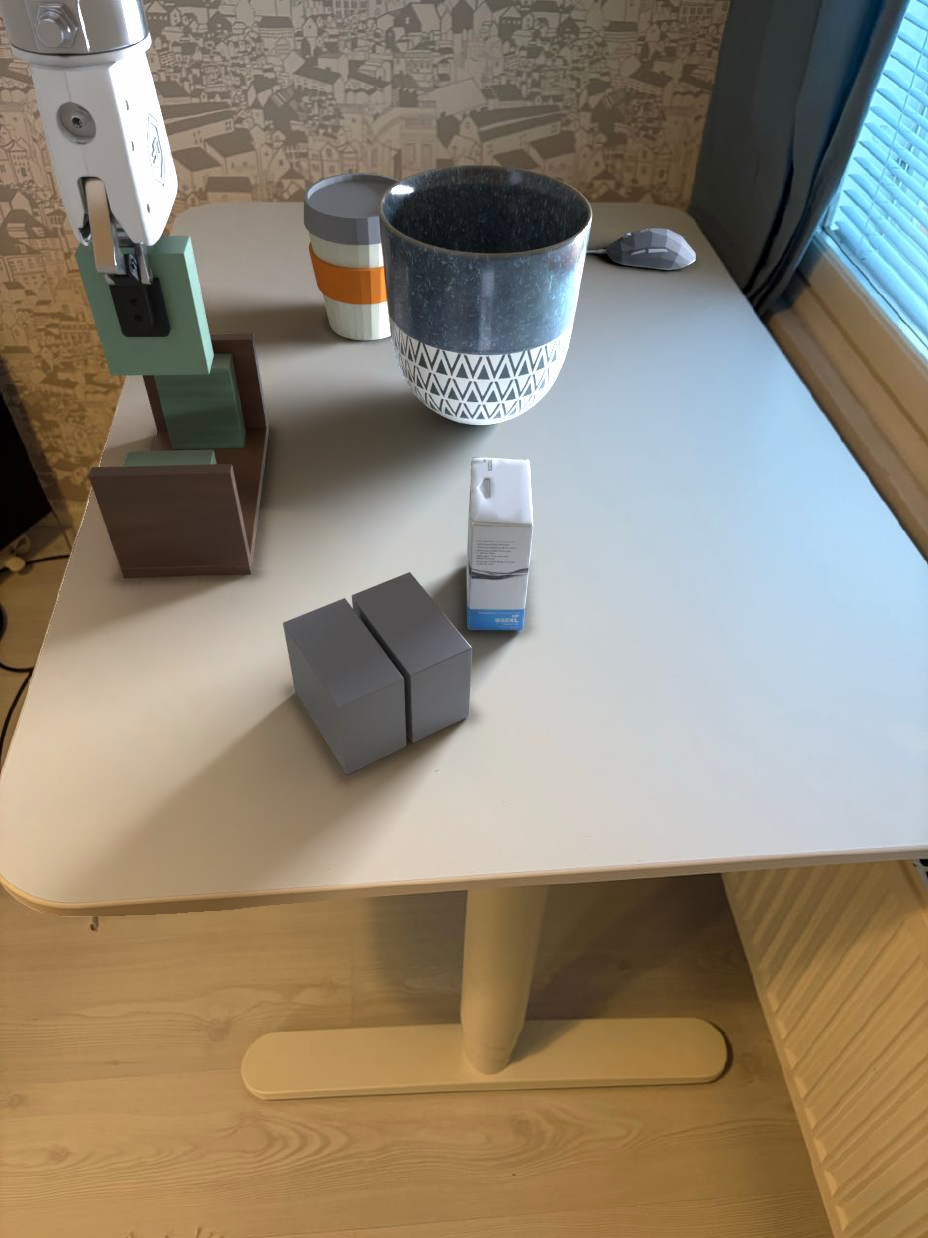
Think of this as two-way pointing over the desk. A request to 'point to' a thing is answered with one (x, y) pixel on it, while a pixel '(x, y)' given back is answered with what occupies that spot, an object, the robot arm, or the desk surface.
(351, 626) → the grey blocks
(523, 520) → the ink box
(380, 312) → the reusable coffee cup
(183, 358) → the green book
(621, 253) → the gaming mouse
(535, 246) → the planter
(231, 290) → the desk surface
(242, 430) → the book rack
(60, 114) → the robot arm
